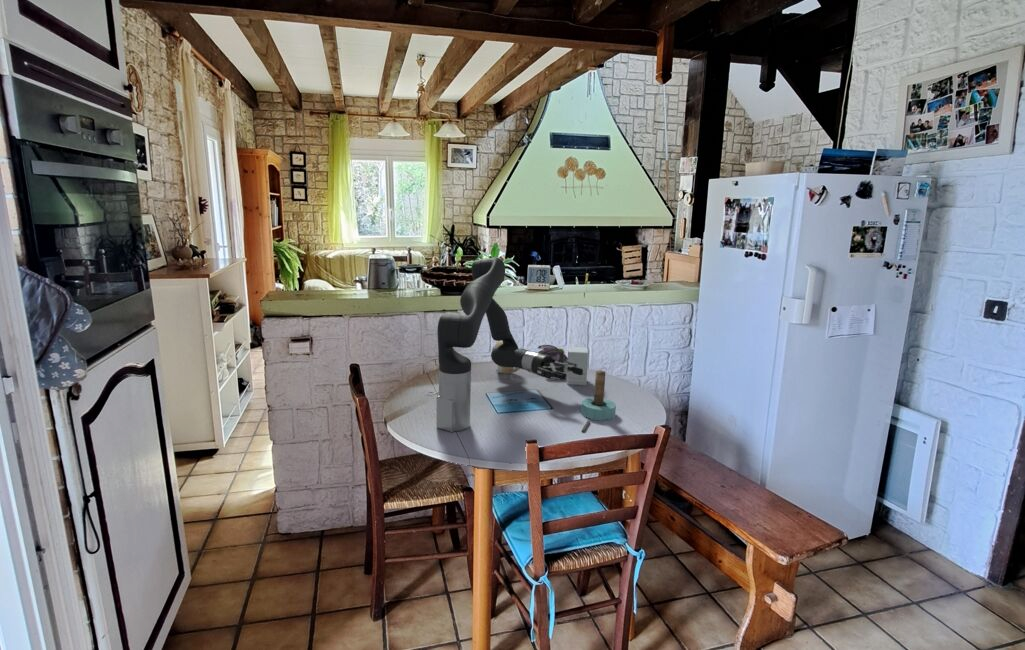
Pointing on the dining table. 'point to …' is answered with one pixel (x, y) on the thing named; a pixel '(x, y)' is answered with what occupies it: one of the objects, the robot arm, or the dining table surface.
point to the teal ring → (598, 409)
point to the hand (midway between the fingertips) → (574, 374)
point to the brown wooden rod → (599, 388)
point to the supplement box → (578, 365)
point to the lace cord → (585, 426)
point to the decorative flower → (554, 353)
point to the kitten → (504, 369)
